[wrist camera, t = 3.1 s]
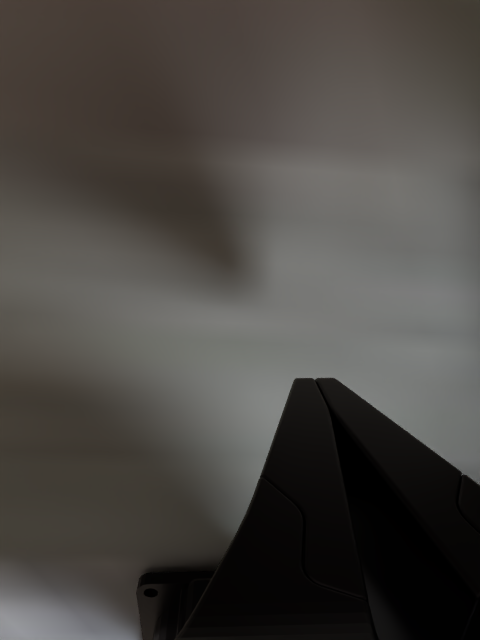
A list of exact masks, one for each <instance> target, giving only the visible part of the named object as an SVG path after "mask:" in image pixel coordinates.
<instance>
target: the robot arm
mask: <svg viewBox="0 0 480 640" xmlns="http://www.w3.org/2000/svg"><path fill="white" fill-rule="evenodd" d="M136 594H137V600H138V607H139V614H140V621H141V627H142V634H143V640H480V485H479V484H477V483H476V482H475V481H473V480H472V479H471V478H469V477H468V476H467V475H462V473H461V471H460V470H458V469H457V468H456V467H454V466H453V465H451V464H450V463H449V462H447V461H446V460H445V459H443V458H442V457H441V456H439V455H438V454H437V453H435V452H434V451H433V450H431V449H430V448H428V447H427V446H426V445H424V444H423V443H422V442H420V441H419V440H418V439H416V438H415V437H414V436H412V435H411V434H410V433H408V432H407V431H406V430H404V429H403V428H401V427H400V426H399V425H397V424H396V423H395V422H393V421H392V420H391V419H389V418H388V417H387V416H385V415H384V414H383V413H381V412H380V411H378V410H377V409H376V408H374V407H373V406H372V405H370V404H369V403H368V402H366V401H365V400H364V399H362V398H361V397H360V396H358V395H357V394H356V393H354V392H353V391H351V390H350V389H349V388H347V387H346V386H345V385H343V384H342V383H341V382H339V381H338V380H337V379H335V378H317V379H315V380H314V379H313V378H296V379H295V380H294V382H293V384H292V387H291V390H290V393H289V396H288V399H287V402H286V404H285V407H284V410H283V413H282V416H281V419H280V421H279V424H278V427H277V430H276V433H275V436H274V439H273V441H272V444H271V447H270V450H269V453H268V456H267V459H266V461H265V464H264V467H263V470H262V473H261V476H260V479H259V481H258V483H257V486H256V489H255V492H254V495H253V497H252V499H251V502H250V504H249V507H248V509H247V512H246V514H245V517H244V519H243V521H242V523H241V525H240V527H239V529H238V531H237V533H236V535H235V537H234V539H233V540H232V542H231V544H230V546H229V548H228V550H227V551H226V553H225V555H224V557H223V559H222V560H221V562H220V564H219V566H218V568H217V569H216V571H215V572H161V573H146V574H144V575H142V576H141V577H140V578H139V582H138V587H137V593H136Z"/></svg>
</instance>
